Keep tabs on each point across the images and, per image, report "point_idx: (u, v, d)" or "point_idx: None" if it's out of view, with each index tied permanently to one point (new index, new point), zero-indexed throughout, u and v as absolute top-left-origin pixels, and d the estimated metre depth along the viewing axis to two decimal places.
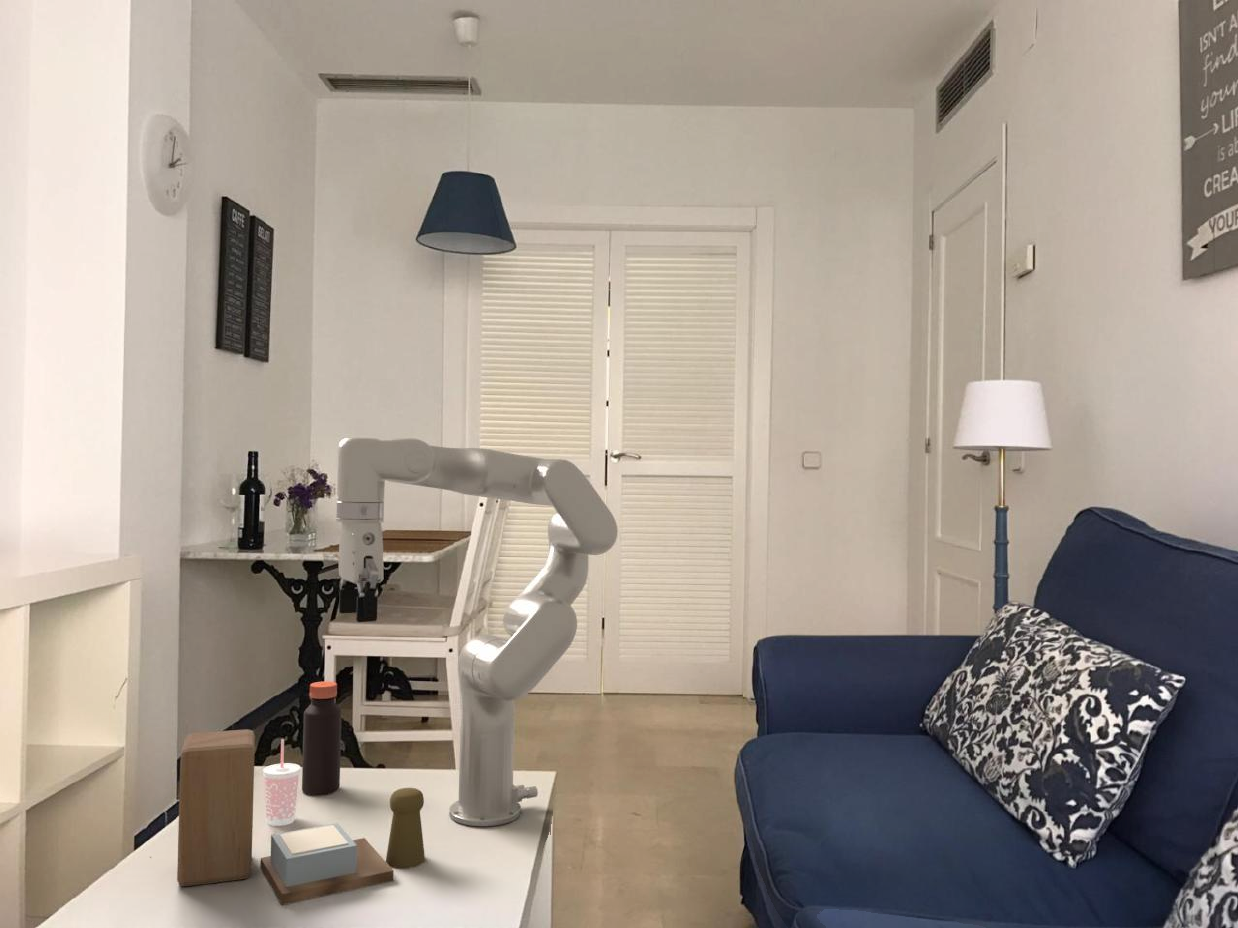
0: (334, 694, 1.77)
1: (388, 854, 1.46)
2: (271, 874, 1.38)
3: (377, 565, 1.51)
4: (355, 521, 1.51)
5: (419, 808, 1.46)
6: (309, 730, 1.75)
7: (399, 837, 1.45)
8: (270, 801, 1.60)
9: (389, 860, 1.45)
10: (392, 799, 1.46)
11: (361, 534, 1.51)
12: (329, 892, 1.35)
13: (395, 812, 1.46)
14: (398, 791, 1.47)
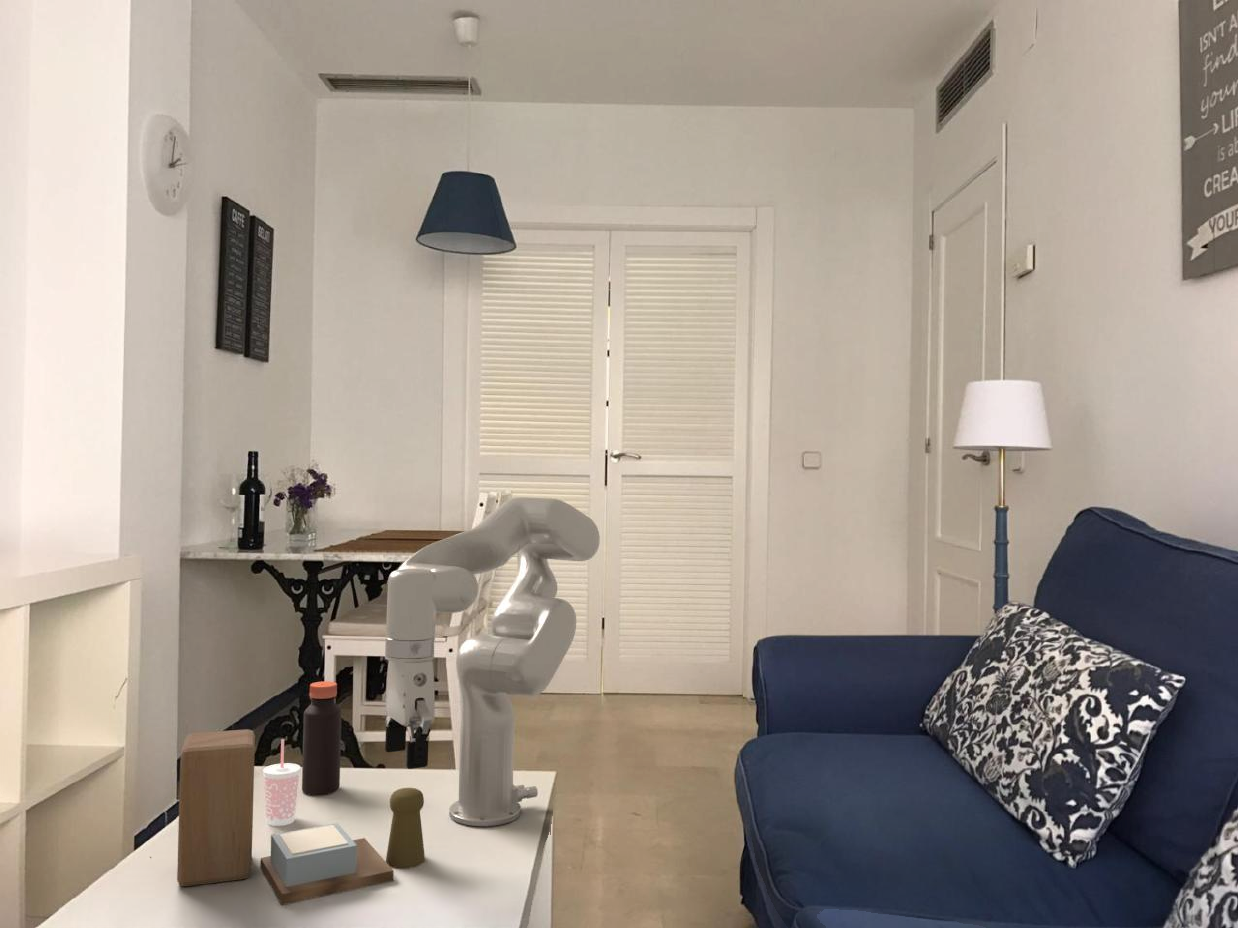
0: (334, 694, 1.77)
1: (388, 854, 1.46)
2: (271, 874, 1.38)
3: (428, 707, 1.44)
4: (406, 660, 1.44)
5: (419, 808, 1.46)
6: (309, 730, 1.75)
7: (399, 837, 1.45)
8: (270, 801, 1.60)
9: (389, 860, 1.45)
10: (392, 799, 1.46)
11: (412, 675, 1.43)
12: (329, 892, 1.35)
13: (395, 812, 1.46)
14: (398, 791, 1.47)
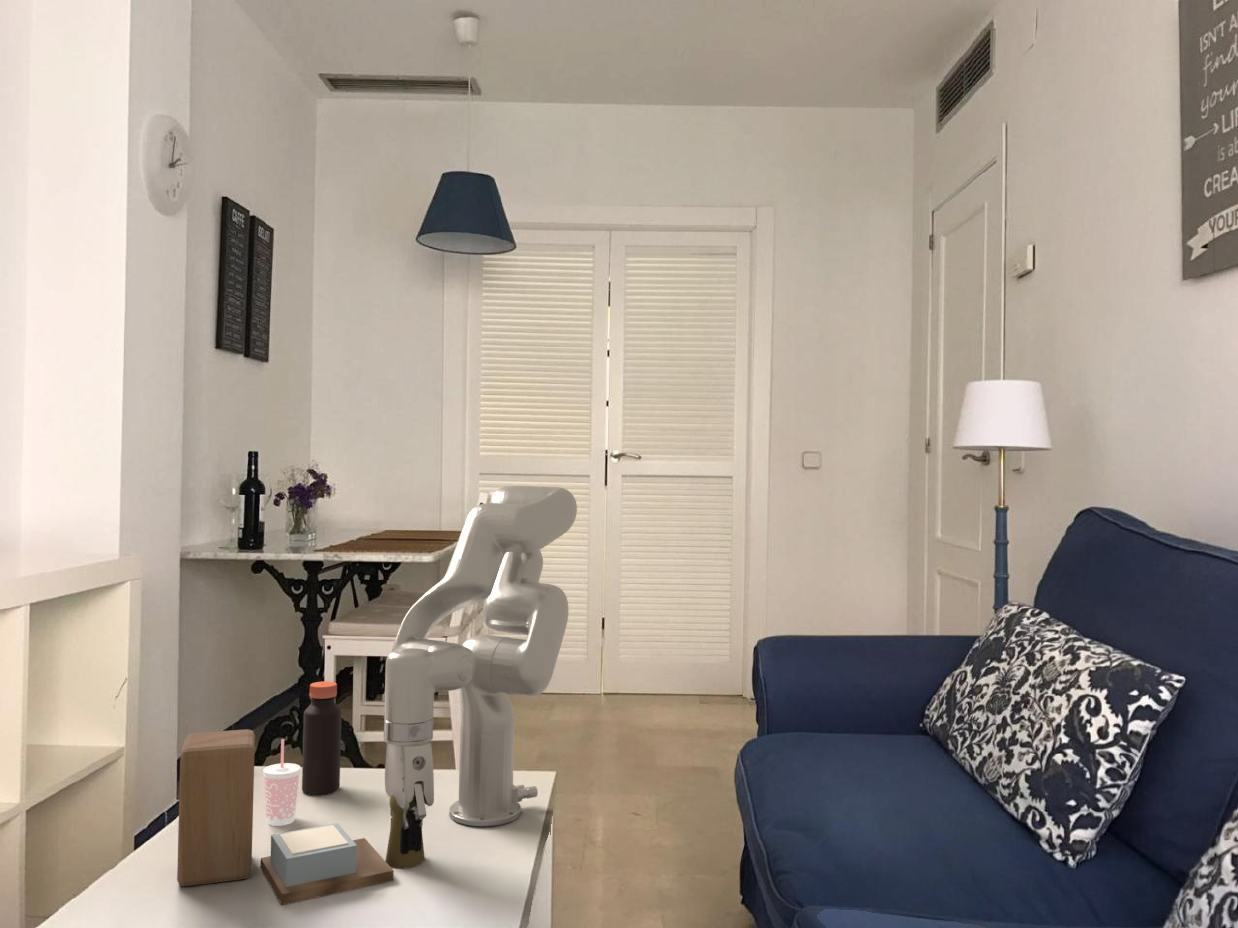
0: (334, 694, 1.77)
1: (388, 854, 1.46)
2: (271, 874, 1.38)
3: (428, 790, 1.44)
4: (404, 744, 1.44)
5: None
6: (309, 730, 1.75)
7: (399, 837, 1.45)
8: (270, 801, 1.60)
9: (389, 860, 1.45)
10: (392, 799, 1.46)
11: (411, 758, 1.43)
12: (329, 892, 1.35)
13: (395, 812, 1.46)
14: None
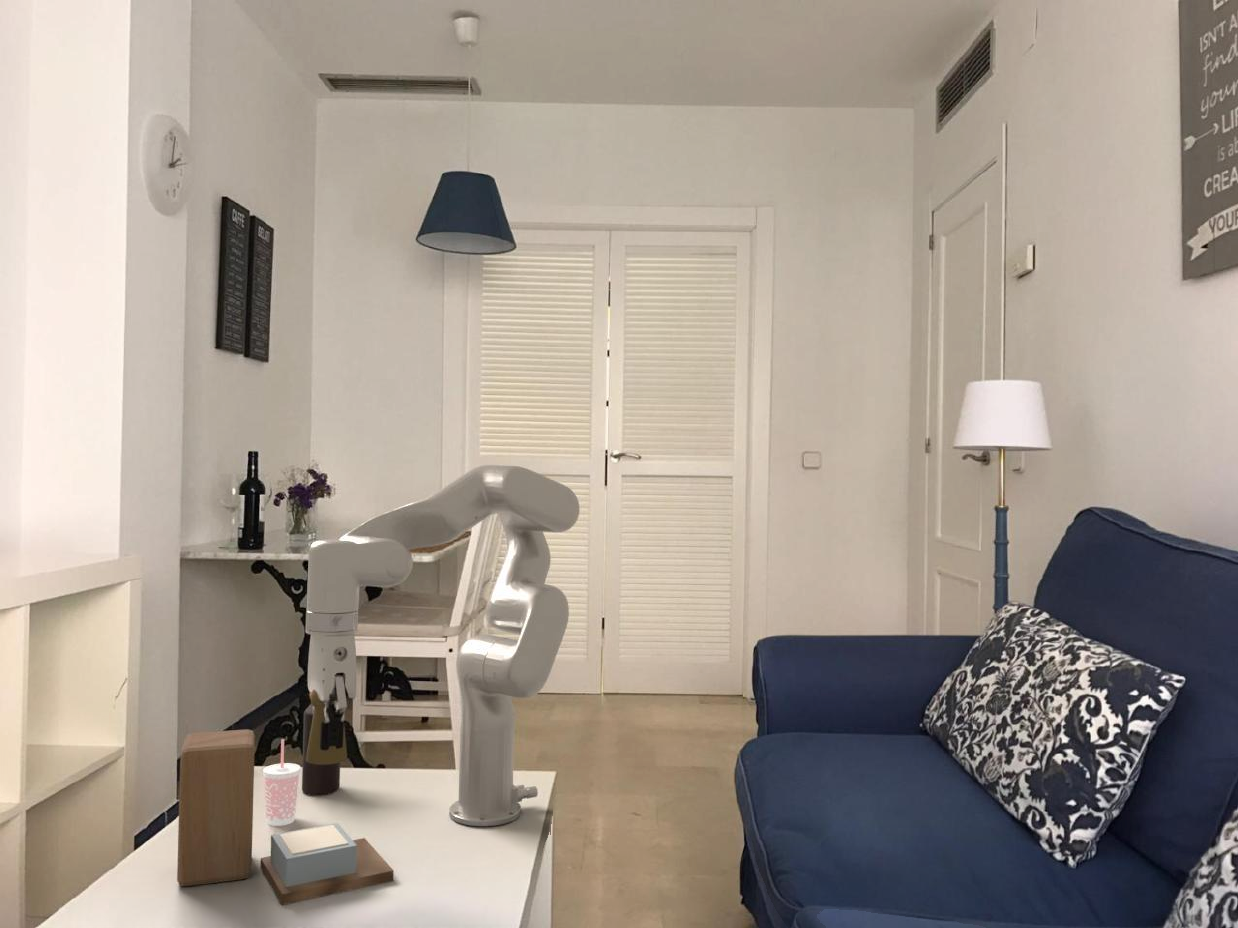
0: None
1: (308, 750, 1.40)
2: (271, 874, 1.38)
3: (349, 682, 1.38)
4: (326, 634, 1.38)
5: None
6: (309, 730, 1.75)
7: (319, 732, 1.39)
8: (270, 801, 1.60)
9: (308, 756, 1.39)
10: (313, 693, 1.40)
11: (332, 649, 1.37)
12: (329, 892, 1.35)
13: (315, 706, 1.40)
14: None
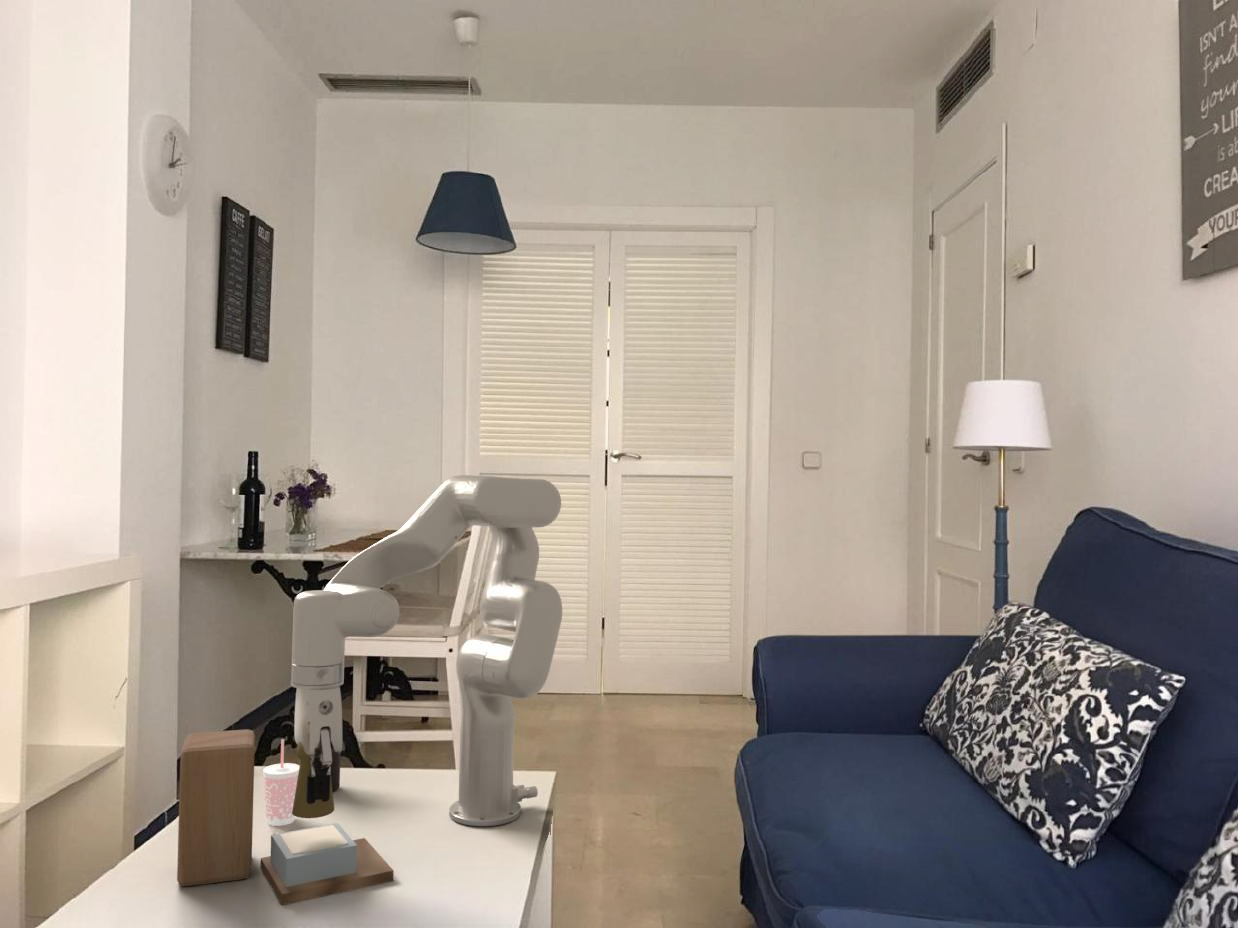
0: None
1: (294, 803, 1.39)
2: (271, 874, 1.38)
3: (335, 736, 1.37)
4: (311, 687, 1.37)
5: None
6: None
7: (305, 785, 1.38)
8: (270, 801, 1.60)
9: (295, 810, 1.39)
10: (298, 746, 1.39)
11: (317, 703, 1.36)
12: (329, 892, 1.35)
13: (301, 759, 1.39)
14: None
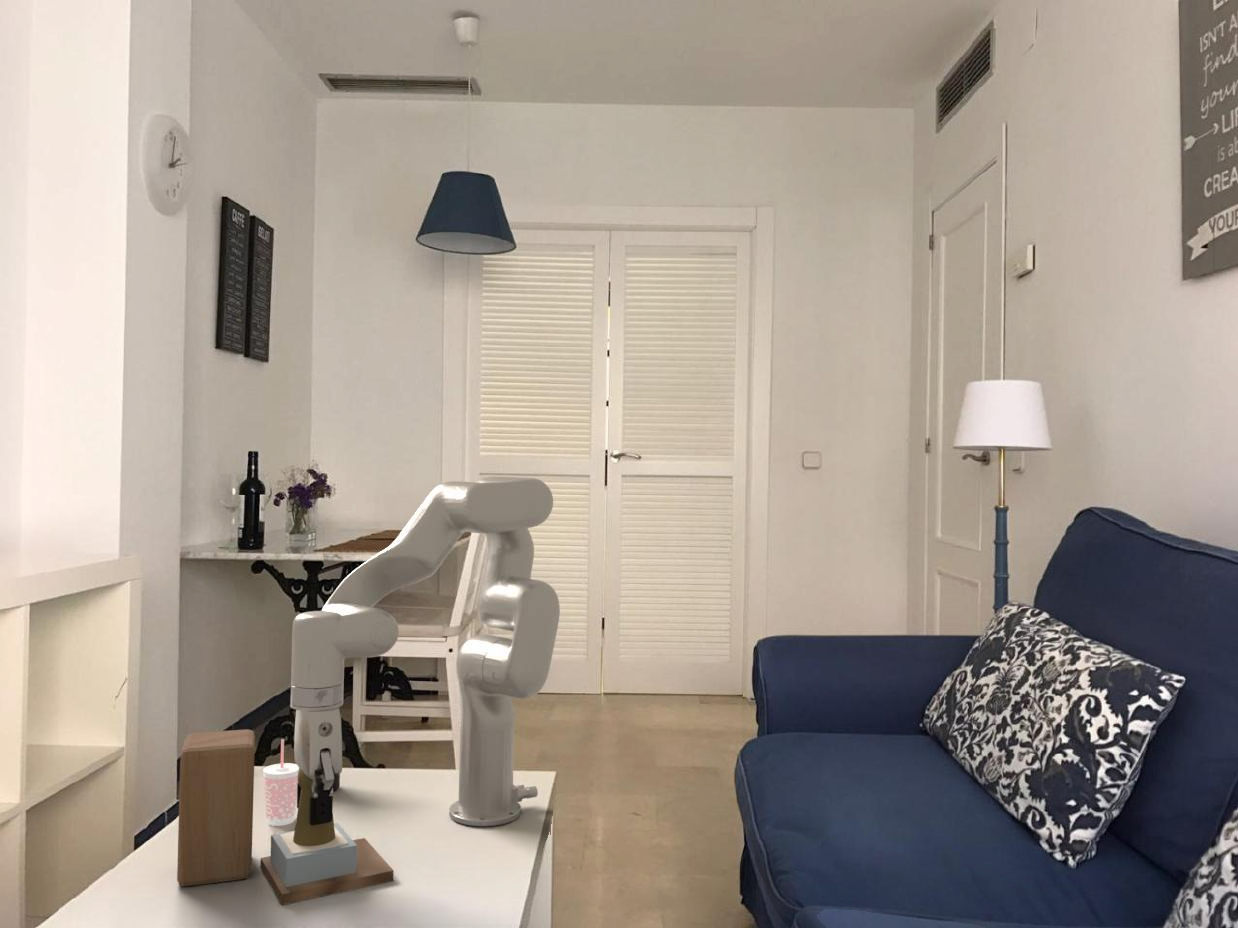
0: None
1: (295, 831, 1.39)
2: (271, 874, 1.38)
3: (335, 757, 1.37)
4: (310, 709, 1.37)
5: None
6: None
7: (306, 813, 1.39)
8: (270, 801, 1.60)
9: (296, 837, 1.39)
10: (299, 774, 1.39)
11: (317, 724, 1.36)
12: (329, 892, 1.35)
13: (302, 787, 1.39)
14: None
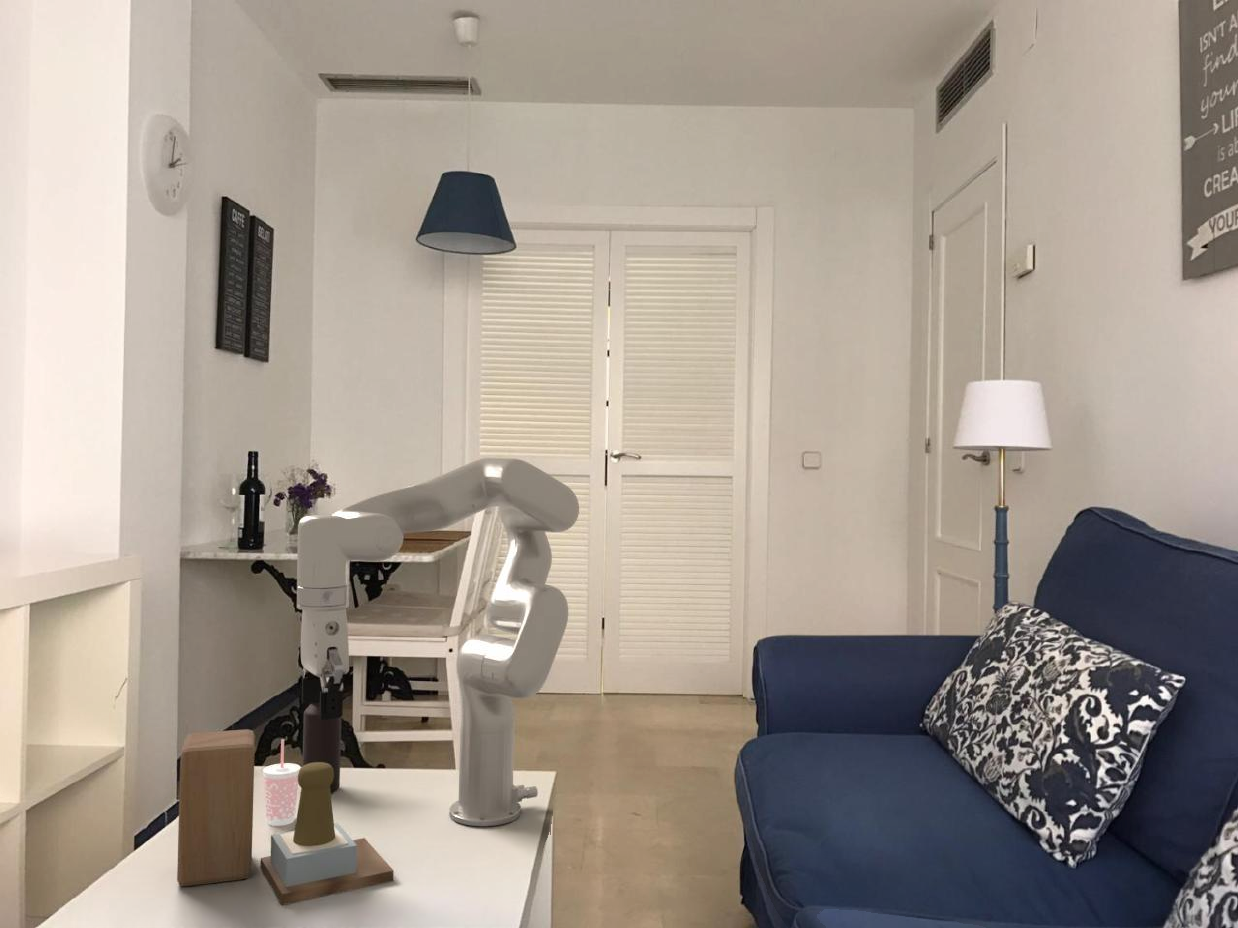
0: None
1: (295, 831, 1.39)
2: (271, 874, 1.38)
3: (342, 656, 1.39)
4: (317, 609, 1.38)
5: (328, 783, 1.40)
6: (309, 730, 1.75)
7: (306, 813, 1.39)
8: (270, 801, 1.60)
9: (296, 837, 1.39)
10: (299, 773, 1.39)
11: (324, 623, 1.38)
12: (329, 892, 1.35)
13: (302, 787, 1.39)
14: (307, 765, 1.41)
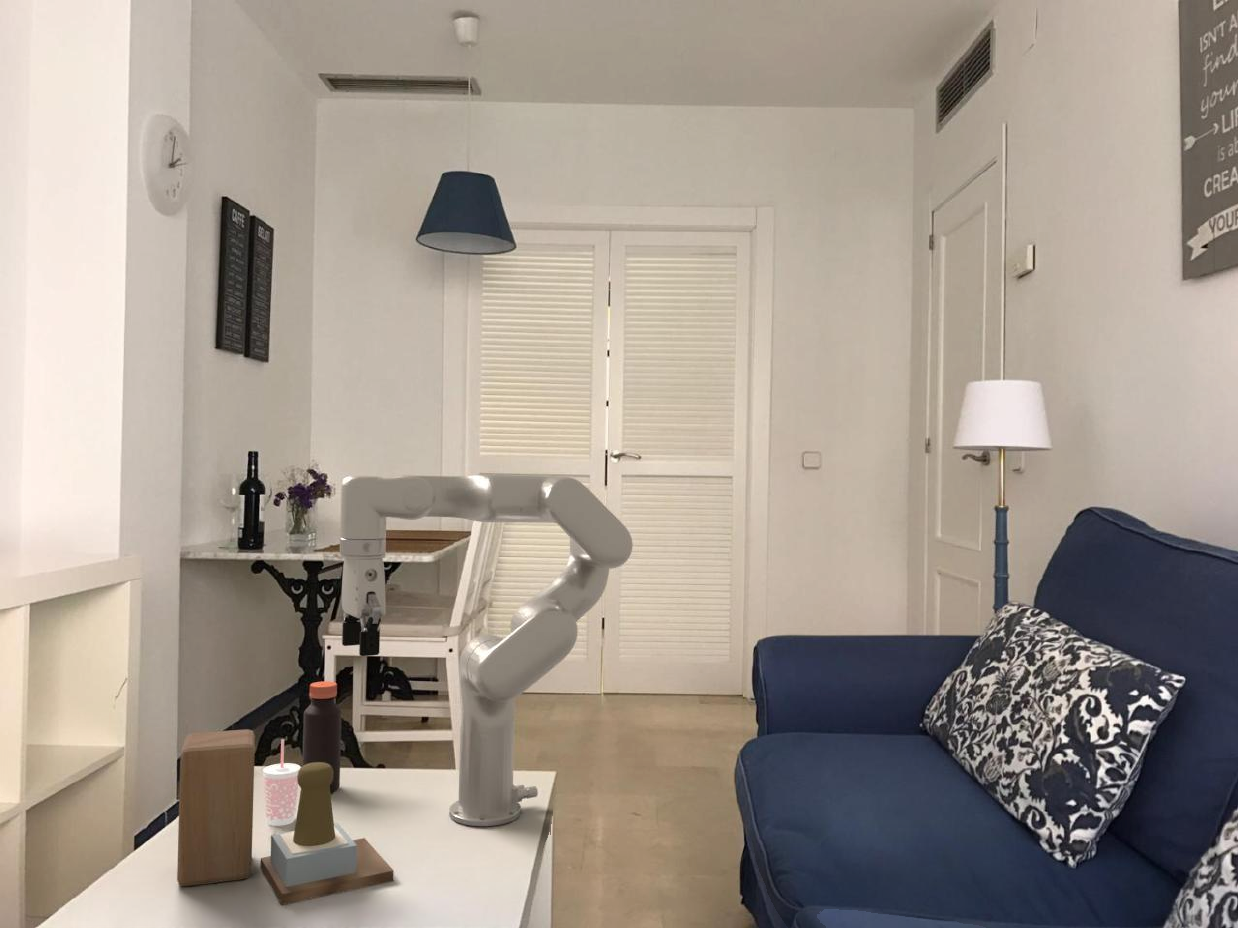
0: (334, 694, 1.77)
1: (295, 831, 1.39)
2: (271, 874, 1.38)
3: (379, 600, 1.56)
4: (358, 558, 1.56)
5: (328, 783, 1.40)
6: (309, 730, 1.75)
7: (306, 813, 1.39)
8: (270, 801, 1.60)
9: (296, 837, 1.39)
10: (299, 774, 1.39)
11: (364, 570, 1.55)
12: (329, 892, 1.35)
13: (302, 787, 1.39)
14: (306, 765, 1.41)
